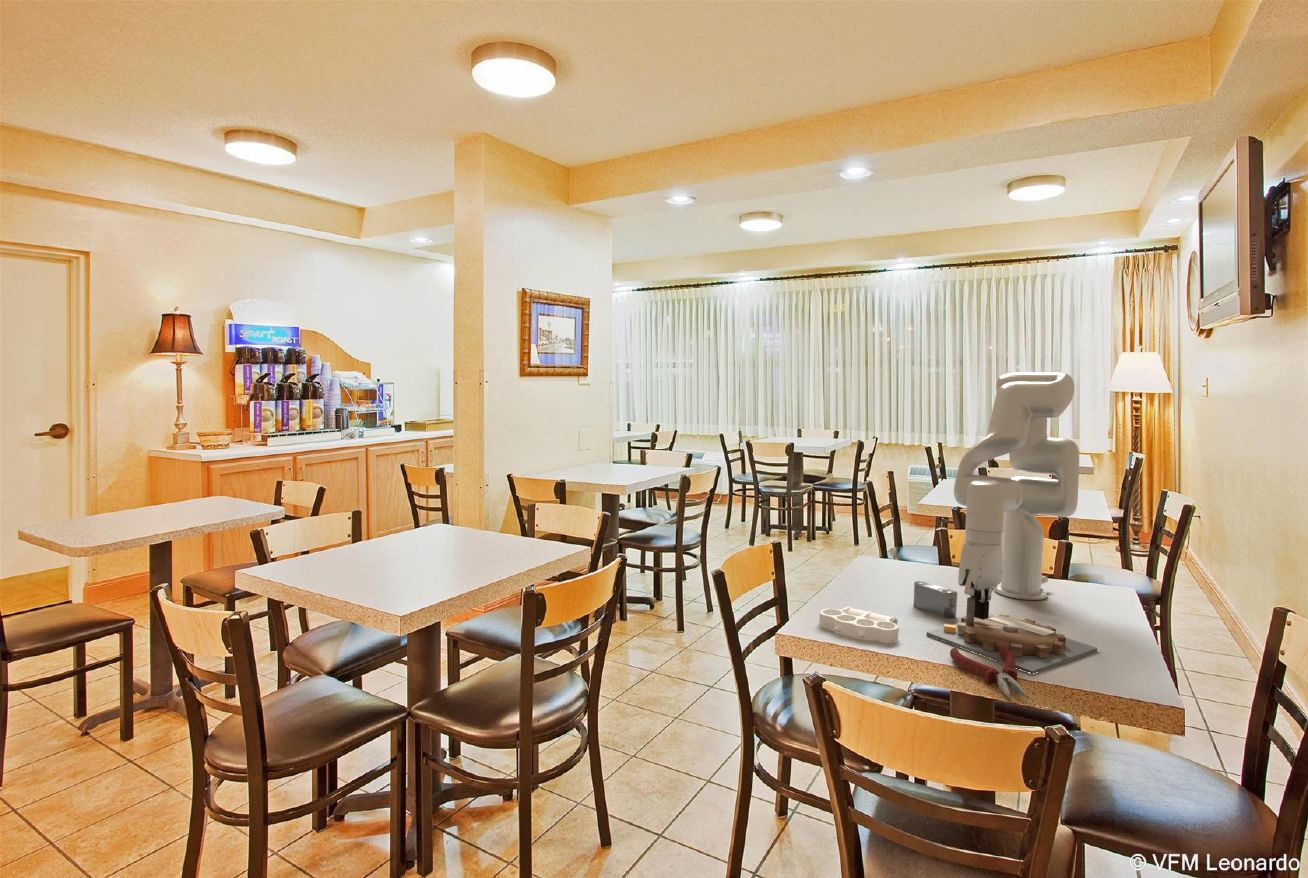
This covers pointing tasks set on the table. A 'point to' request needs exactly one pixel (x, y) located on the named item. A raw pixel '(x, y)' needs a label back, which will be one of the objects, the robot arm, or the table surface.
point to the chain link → (935, 599)
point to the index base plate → (1024, 663)
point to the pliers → (992, 670)
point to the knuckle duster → (860, 624)
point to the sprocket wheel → (1010, 634)
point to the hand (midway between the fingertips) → (979, 617)
